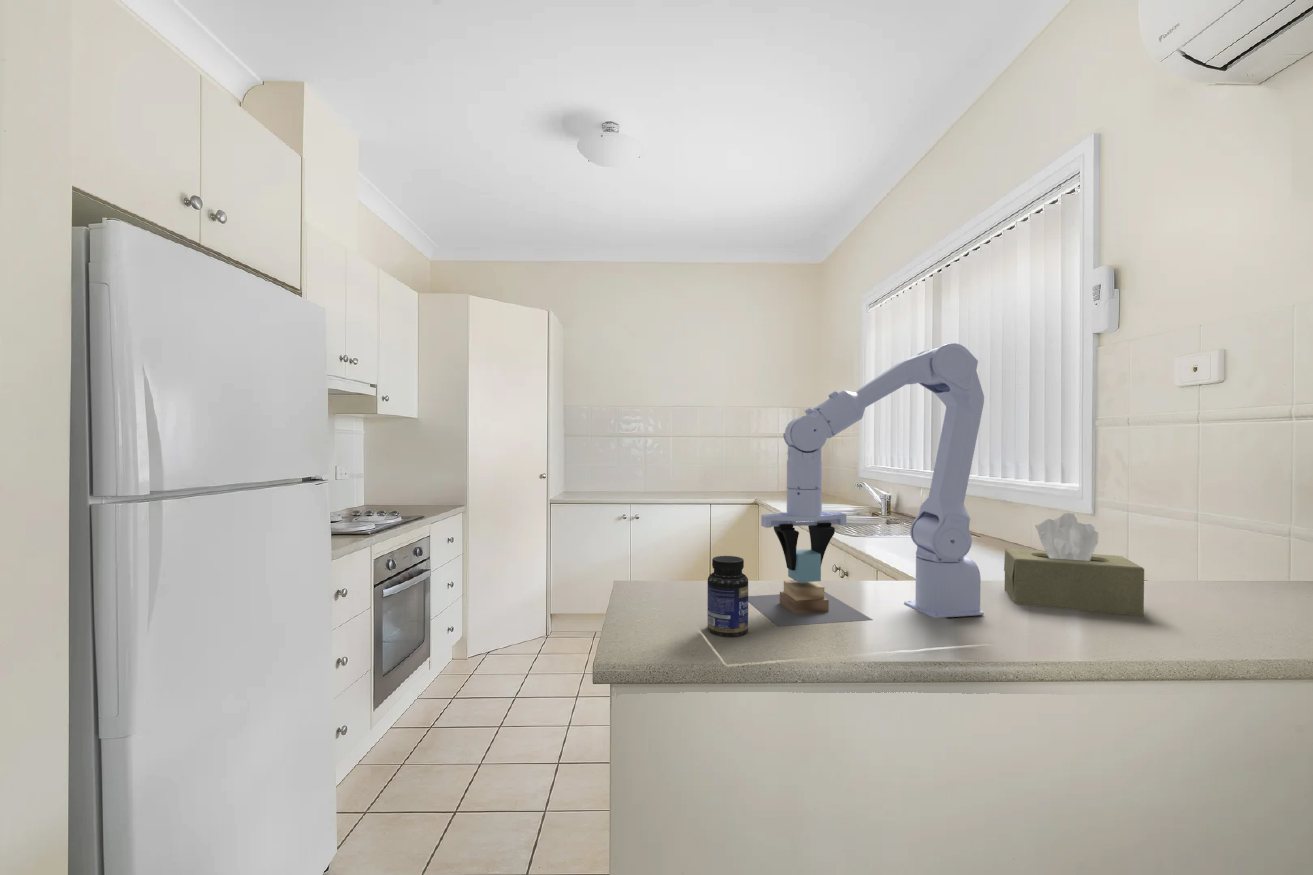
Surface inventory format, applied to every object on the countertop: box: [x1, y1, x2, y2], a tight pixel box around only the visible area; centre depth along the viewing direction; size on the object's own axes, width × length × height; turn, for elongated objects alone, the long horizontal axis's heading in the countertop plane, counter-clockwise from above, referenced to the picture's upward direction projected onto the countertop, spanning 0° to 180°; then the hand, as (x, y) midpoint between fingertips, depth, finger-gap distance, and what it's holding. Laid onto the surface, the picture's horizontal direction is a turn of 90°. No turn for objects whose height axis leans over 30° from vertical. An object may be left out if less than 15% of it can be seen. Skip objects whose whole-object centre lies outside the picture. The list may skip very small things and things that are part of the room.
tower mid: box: [783, 579, 825, 601], centre depth 99 cm, size 5×5×2 cm
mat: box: [748, 591, 874, 628], centre depth 99 cm, size 16×16×1 cm
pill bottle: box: [706, 555, 749, 638], centre depth 88 cm, size 6×6×11 cm
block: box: [787, 548, 822, 582], centre depth 98 cm, size 4×4×4 cm
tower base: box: [779, 590, 829, 614], centre depth 99 cm, size 6×6×2 cm
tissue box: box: [1003, 512, 1145, 617], centre depth 103 cm, size 19×10×16 cm, turn 69°
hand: (803, 568), depth 98 cm, fingers closed on block, 4 cm apart
